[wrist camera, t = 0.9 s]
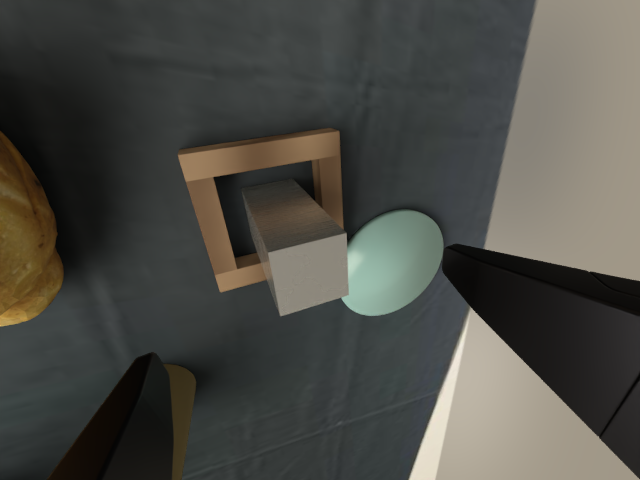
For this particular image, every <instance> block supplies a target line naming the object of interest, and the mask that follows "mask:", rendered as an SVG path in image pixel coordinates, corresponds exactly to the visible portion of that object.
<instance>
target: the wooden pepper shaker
mask: <svg viewBox="0 0 640 480" xmlns="http://www.w3.org/2000/svg"><path fill="white" fill-rule="evenodd" d="M163 365H164V366H165V368H166V369H167V371H168V373H169V377H170V388H171V402H172V416H173V432H174V449H173V470H172V480H181V479H182V473H183V467H184V460H185V454H186V448H187V441H188V435H189V428H190V422H191V416H192V409H193V403H194V397H195V390H196V380H195V377H194V375H193V374H192V373H191V372H190V371H188V370H187V369H186V368H183V367H180V366H178V365H171V364H163Z"/></svg>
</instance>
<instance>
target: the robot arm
mask: <svg viewBox="0 0 640 480" xmlns="http://www.w3.org/2000/svg"><path fill="white" fill-rule="evenodd" d="M442 270H443V273H444V274H445V276H446V277H447V278H448V280H449V281H450V282H451V283H452V284H453V286H454V287H455V288H456V289H457V291H458V292H459V293H460V294H461V296H462V297H463V298H464V299H465V301H466V302H467V303H468V304H469V305H470V307H471V308H472V309H473V310H474V311H475V312H476V313H477V314H478V315H479V316H480V317H481V318H482V319H483V320H484V321H485V322H486V323H487V324H488V325H489V326H490V327H491V328H492V329H493V330H494V331H495V332H496V334H497V335H498V336H499V337H500V338H501V339H502V340H503V341H504V342H505V343H506V344H508V346H509V347H510V348H511V349H512V350H513V351H514V352H515V353H516V354H517V355H518V356H519V357H520V358H521V359H522V360H523V361H524V362H525V363H526V364H527V365H528V366H529V367H530V368H531V369H532V370H533V371H534V372H535V373H536V374H537V375H538V376H539V377H540V378H541V379H542V380H543V381H544V382H545V383H546V384H547V385H548V386H549V387H550V388H551V389H552V390H553V391H554V392H555V393H556V394H557V395H558V396H559V397H560V398H561V399H562V400H563V402H564V403H566V404H567V406H569V408H570V409H571V410H572V411H573V412H574V413H575V414H576V415H577V416H578V417H579V418H580V419H581V420H582V421H583V422H584V423H585V424H586V425H587V426H588V427H589V428H590V429H591V430H592V431H593V432H594V433H595V434H596V435H597V436H599V438H600V439H601V440H602V441H603V442H604V443H605V444H606V445H607V446H608V447H609V448H610V449H611V450H612V451H613V453H614V454H615V455H617V456H618V458H619V459H620V460H621V461H623V463H624V464H625V465H626V466H627V467H628V468H629V469H630V470H631V471H632V472H633V473H634V474H635V475H636V476H637V477H638V478H639V479H640V281H636V280H630V279H625V278H620V277H615V276H610V275H605V274H600V273H596V272H588V271H585V270H581V269H576V268H571V267H567V266H562V265H557V264H552V263H547V262H543V261H538V260H533V259H528V258H523V257H518V256H514V255H509V254H504V253H499V252H495V251H490V250H485V249H480V248H475V247H471V246H466V245H461V244H453V245H450V246H447V247H446V248H445V249H444V251H443V261H442ZM173 449H174V432H173V416H172V402H171V388H170V377H169V373H168V371H167V369H166V368H165V366H164V365H163V363H162V362H161V360H160V358H159V357H158V355H157V354H156V353H154V352H151V353H148V354H145V355H142V356H140V357H138V358H136V359H135V360H134V362H133V363H132V364H131V366H130V367H129V369H128V370H127V371H126V373H125V374H124V375H123V377H122V378H121V379H120V381H119V382H118V383H117V385H116V386H115V387H114V389H113V390H112V392H111V393H110V394H109V396H108V397H107V398H106V400H105V401H104V402H103V404H102V405H101V406H100V408H99V409H98V410H97V412H96V413H95V415H94V416H93V417H92V419H91V420H90V421H89V423H88V424H87V425H86V427H85V428H84V429H83V431H82V432H81V434H80V435H79V436H78V438H77V439H76V440H75V442H74V443H73V444H72V446H71V447H70V448H69V450H68V451H67V452H66V454H65V455H64V457H63V458H62V459H61V461H60V462H59V463H58V465H57V466H56V467H55V469H54V470H53V471H52V473H51V474H50V475H49V477H48V478H47V480H172V470H173Z"/></svg>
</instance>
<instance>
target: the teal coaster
mask: <svg viewBox="0 0 640 480" xmlns="http://www.w3.org/2000/svg"><path fill="white" fill-rule="evenodd" d="M442 255H443V238H442V234H441V231H440V229H439V227H438V225H437V224H436V223H435V222H434V221H433V220H432V219H431V218H430V217H428V216H426V215H425V214H423V213H421V212H418V211H415V210H410V209H399V210H393V211H389V212H386V213H383V214H381V215H379V216H377V217H375V218H373V219H372V220H370V221H369V222H367V223H366V224H365V225H363V226H362V227H361V228H360V229H359V230H358V231H357V232H356V233H355V234H354V235H353V236H352V237H351V238H350V240H349V241H348V243H347V258H348V285H349V295H347V296H344V297H341V298H342V300H343V301H344V303H345V304H346V305H347V306H348V307H349V308H350V309H351V310H353V311H355V312H357V313H359V314H362V315H368V316H377V315H384V314H387V313H391V312H393V311H396V310H398V309H400V308H402V307H404V306H405V305H407V304H409V303H410V302H411V301H413V300H414V299H415V298H416V297H418V296H419V295H420V294H421V293H422V292H423V291H424V290H425V288H426V287H427V286H428V285H429V284H430V282H431V281H432V279H433V278H434V276H435V274H436V272H437V270H438V268H439V265H440V262H441V259H442Z"/></svg>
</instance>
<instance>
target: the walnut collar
mask: <svg viewBox="0 0 640 480" xmlns="http://www.w3.org/2000/svg"><path fill="white" fill-rule="evenodd" d="M178 158H179V161H180V164H181V167H182V171H183V174H184V177H185V180H186V183H187V187H188V190H189V193H190V196H191V200H192V203H193V206H194V209H195V212H196V216H197V219H198V222H199V225H200V229H201V232H202V235H203V238H204V242H205V245H206V248H207V251H208V254H209V258H210V261H211V264H212V267H213V271H214V274H215V277H216V280H217V283H218V287H219V290H220V292H224V291H227V290H231V289H234V288H238V287H242V286H245V285H249V284H253V283H256V282H260V281H264V280H267V278H266V276H265V273H264V270H263V267H262V264H261V262H260V259H259V256H258V253H253V254H249V255H245V256H241V257H237V258H235V257H234V254H233V250H232V246H231V242H230V238H229V234H228V230H227V227H226V223H225V219H224V215H223V211H222V207H221V204H220V200H219V196H218V192H217V188H216V184H215V181H214V177H216V176H222V175H228V174H234V173H239V172H245V171H251V170H257V169H262V168H268V167H274V166H280V165H286V164H291V163H297V162H303V161H309V160H312V171H313V182H314V193H315V202H316V203H317V204H318V205H319V206H320V207H321V208H322V209H323V210H324V211H325V212H326V213H327V214H328V215H329V216H330V217H331V218H332V219H333V220H334V221H335V222H336V223H337V224H338V225H339V226H340V227H341V228H342V229H343V205H342V181H341V158H340V134H339V131H338V130H335V129H332V128H325V129H318V130H311V131H304V132H297V133H290V134H283V135H276V136H269V137H263V138H256V139H249V140H242V141H235V142H228V143H221V144H214V145H207V146H201V147H194V148H187V149H180V150H179V152H178ZM343 230H344V229H343Z"/></svg>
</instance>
